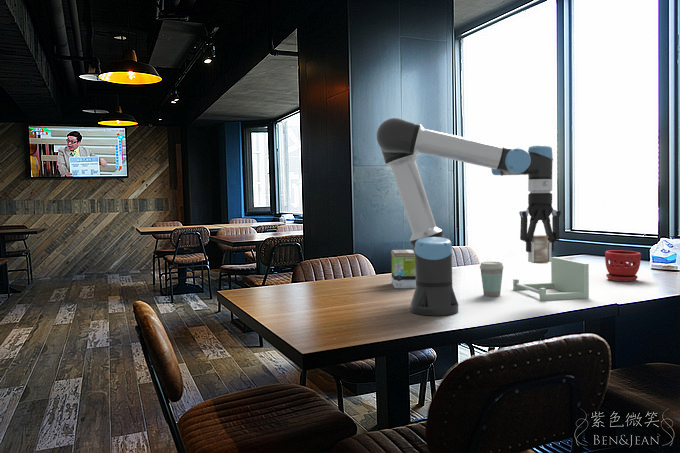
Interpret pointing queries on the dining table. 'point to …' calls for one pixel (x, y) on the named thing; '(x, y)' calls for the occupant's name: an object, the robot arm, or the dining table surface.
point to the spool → (540, 249)
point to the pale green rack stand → (562, 281)
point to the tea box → (403, 268)
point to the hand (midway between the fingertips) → (539, 261)
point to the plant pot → (622, 265)
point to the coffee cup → (491, 278)
